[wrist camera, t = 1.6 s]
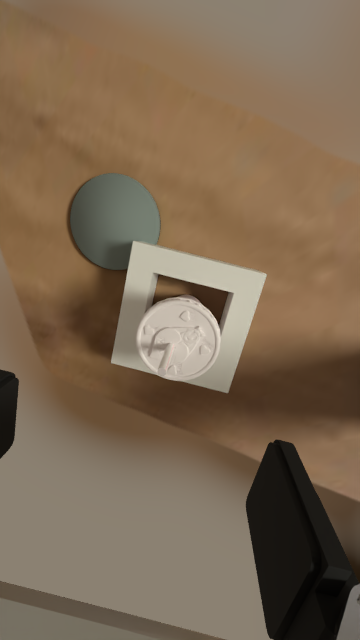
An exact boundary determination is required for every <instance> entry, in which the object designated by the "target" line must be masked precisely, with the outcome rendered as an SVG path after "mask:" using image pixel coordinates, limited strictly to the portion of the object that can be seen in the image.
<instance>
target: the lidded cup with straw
mask: <svg viewBox="0 0 360 640" xmlns="http://www.w3.org/2000/svg"><path fill="white" fill-rule="evenodd" d="M220 342H221V336H220V328H219V326H218V323H217V320H216V319H215V317H214V316H213V315H212V313H211V312H210V311H209V310H208V309H207V308H206V307H204V306H203V305H202V304H201V302H200V301H199V300H198V299H197V298H196V297H194V296H191V295H181V296H178V297H176V298H167V299H165V300H162V301H159V302H157V303H156V304H154V305H153V306H152V307H150V308H149V309H148V310H147V312H146V313H145V314H144V315H143V317H142V319H141V321H140V323H139V325H138V327H137V331H136V347H137V351H138V354H139V356H140V358H141V360H142V361H143V363H144V364H145V365H146V366H147V367H148V368H149V369H150V370H151V371H152V372H153V373H155V374H156V375H158V376H160V377H162V378H165V379H169V380H174V381H185V380H190V379H194V378H196V377H198V376H200V375H202V374H204V373H205V372H206V371H207V370H208V369H210V367H211V366H212V365H213V364H214V362H215V361H216V359H217V356H218V354H219V350H220Z"/></svg>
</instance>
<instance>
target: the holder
mask: <svg viewBox="0 0 360 640" xmlns="http://www.w3.org/2000/svg"><path fill="white" fill-rule="evenodd" d="M159 274H161V275H165V276H169V277H173V278H177V279H181V280H185V281H189V282H193V283H197V284H201V285H205V286H208V287H212V288H216V289H220V290H224V291H228V296H227V299H226V303H225V306H224V309H223V313H222V316H221V320H220V323H219V328H220V336H221V342H220V350H219V354H218V356H217V359H216V361H215V362H214V364H213V365H212V366H211V367H210V369H208V370H207V371H206V372H205V373H204V374H202V375H200V376H198V377H196V378H194V379H190V380H185V381H182V382H186V383H190V384H194V385H198V386H202V387H205V388H209V389H213V390H217V391H221V392H225V393H228V392H229V389H230V386H231V383H232V380H233V376H234V373H235V370H236V367H237V364H238V361H239V358H240V355H241V352H242V349H243V346H244V343H245V340H246V337H247V334H248V331H249V328H250V325H251V322H252V318H253V315H254V312H255V309H256V306H257V303H258V300H259V297H260V294H261V291H262V288H263V285H264V282H265V279H266V276H267V274H265V273H263V272H261V271H259V270H255V269H251V268H247V267H243V266H239V265H235V264H231V263H227V262H223V261H219V260H215V259H211V258H207V257H203V256H199V255H195V254H191V253H187V252H183V251H179V250H175V249H171V248H167V247H163V246H159V245H154V244H150V243H146V242H142V241H133V244H132V250H131V255H130V261H129V266H128V272H127V277H126V283H125V288H124V294H123V299H122V305H121V310H120V315H119V321H118V326H117V332H116V337H115V343H114V348H113V354H112V359H111V363H113V364H117V365H121V366H125V367H129V368H133V369H136V370H140V371H144V372H148V373H152V374H155V373H153V372H152V371H151V370H150V369H149V368H148V367H147V366H146V365H145V364H144V363H143V361H142V360H141V358H140V356H139V354H138V351H137V347H136V331H137V327H138V325H139V323H140V321H141V319H142V317H143V315H144V314H145V313H146V312H147V310H148V309H149V308H150V307H152V303H153V298H154V294H155V289H156V284H157V280H158V275H159Z"/></svg>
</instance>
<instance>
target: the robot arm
mask: <svg viewBox="0 0 360 640" xmlns="http://www.w3.org/2000/svg"><path fill="white" fill-rule="evenodd" d="M18 385H19V380H18V379H17V378H15V374H14V373H11V372H8V371H3V370H0V458H1V457H2V456H3V455H4V454H5V453H6V452H7V451H8V450H9V449H10V447H11V446H12V444H13V441H14V436H15V422H16V410H17V397H18ZM246 512H247V517H248V523H249V529H250V535H251V541H252V546H253V553H254V558H255V564H256V570H257V576H258V582H259V587H260V594H261V599H262V605H263V611H264V617H265V623H266V628H267V633H268V635H269V637H270V639H274V640H360V584H359V582H358V580H357V578H356V576H355V573H354V571H353V569H352V567H351V565H350V563H349V561H348V558H347V556H346V554H345V552H344V550H343V548H342V546H341V543H340V542H339V539H338V537H337V535H336V533H335V531H334V528H333V526H332V524H331V522H330V520H329V518H328V516H327V513H326V511H325V509H324V507H323V505H322V503H321V501H320V498H319V497H318V495H317V493H316V491H315V490H314V487H313V485H312V483H311V481H310V479H309V476H308V474H307V472H306V470H305V468H304V466H303V463H302V461H301V459H300V457H299V455H298V453H297V451H296V448H295V446H294V445H293V444H292V443H289V442H285V441H281V440H275V441H274V443H272V442H270V443H269V444H268V446H267V449H266V451H265V454H264V456H263V459H262V461H261V464H260V466H259V469H258V472H257V474H256V476H255V479H254V482H253V484H252V487H251V489H250V491H249V494H248V496H247V501H246ZM0 640H225V639H221V638H218V637H214V636H210V635H206V634H202V633H199V632H195V631H191V630H187V629H183V628H180V627H176V626H172V625H168V624H164V623H161V622H157V621H153V620H149V619H146V618H142V617H138V616H134V615H131V614H127V613H123V612H118V611H115V610H111V609H107V608H103V607H99V606H95V605H92V604H88V603H84V602H80V601H76V600H72V599H68V598H65V597H60V596H57V595H53V594H48V593H45V592H41V591H37V590H33V589H29V588H25V587H21V586H17V585H14V584H9V583H6V582H2V581H0Z"/></svg>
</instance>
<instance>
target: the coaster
mask: <svg viewBox="0 0 360 640" xmlns="http://www.w3.org/2000/svg"><path fill="white" fill-rule="evenodd" d="M70 223H71V230H72V234H73V237H74V239H75V242H76V244H77V245H78V247H79V249H80V250H81V251H82V253H83V254H84V255H85V256H86V257H87V258H88V259H89V260H91V261H92V262H93V263H95V264H97V265H99V266H101V267H103V268H107V269H112V270H124V269H128V266H129V261H130V255H131V250H132V244H133V241H142V242H146V243H150V244H154V245H156V244H157V242H158V239H159V235H160V215H159V211H158V208H157V205H156V203H155V201H154V199H153V197H152V196H151V194H150V193H149V192H148V191H147V189H146V188H145V187H144V186H142V185H141V184H140V183H139V182H137V181H136V180H134V179H132V178H130V177H128V176H125V175H122V174H116V173H109V174H103V175H99V176H97V177H95V178H93V179H91V180H89V181H88V182H87V183H86V184H85V185H83V187H82V188H81V189H80V190H79V192H78V193H77V195H76V197H75V199H74V201H73V204H72V208H71V215H70Z"/></svg>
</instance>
